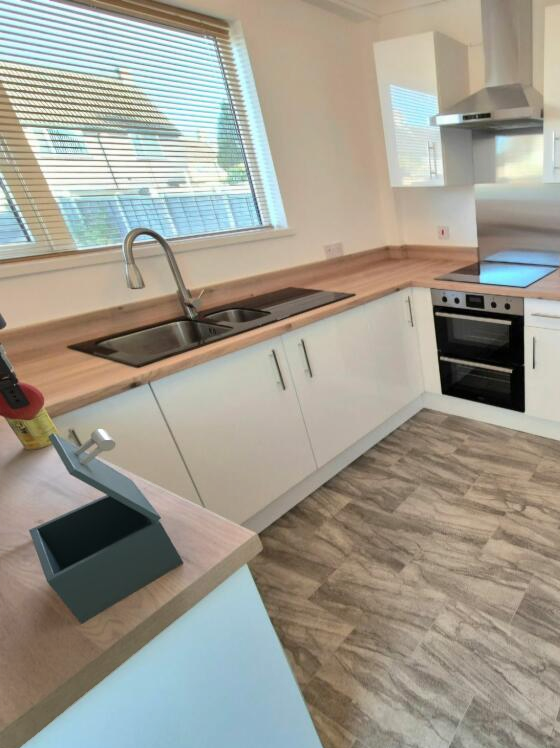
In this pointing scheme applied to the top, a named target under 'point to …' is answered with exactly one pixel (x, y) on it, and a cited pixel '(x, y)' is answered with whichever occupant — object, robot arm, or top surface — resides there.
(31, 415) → the onion
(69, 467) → the lid
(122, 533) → the chest
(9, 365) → the robot arm
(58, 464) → the top surface
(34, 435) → the sauce bottle
